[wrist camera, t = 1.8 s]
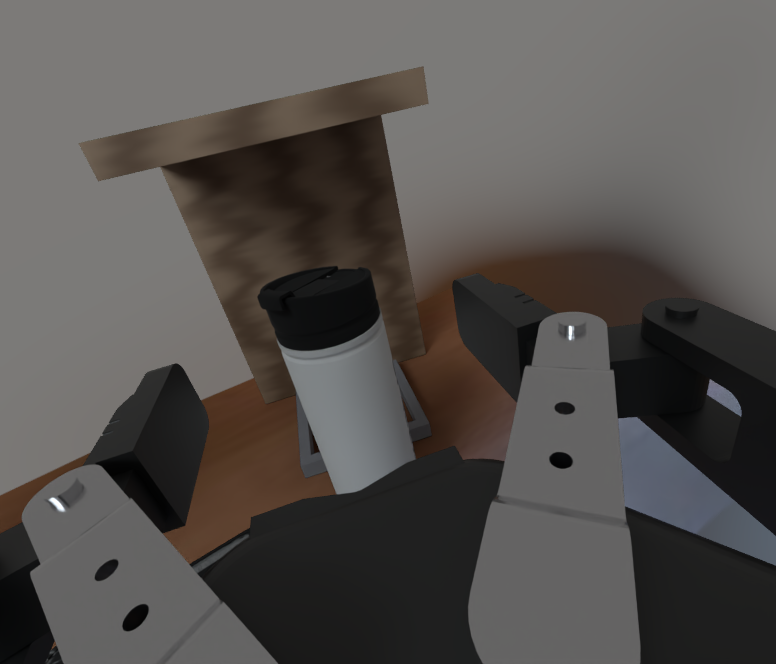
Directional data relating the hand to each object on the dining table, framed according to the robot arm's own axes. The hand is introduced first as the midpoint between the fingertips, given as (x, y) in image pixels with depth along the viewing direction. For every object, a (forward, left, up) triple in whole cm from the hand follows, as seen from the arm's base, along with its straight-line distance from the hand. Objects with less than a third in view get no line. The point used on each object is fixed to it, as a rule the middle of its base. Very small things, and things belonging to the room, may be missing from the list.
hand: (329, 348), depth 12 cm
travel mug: (+4, +10, -21) cm, 24 cm away
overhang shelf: (+8, +23, -21) cm, 33 cm away
